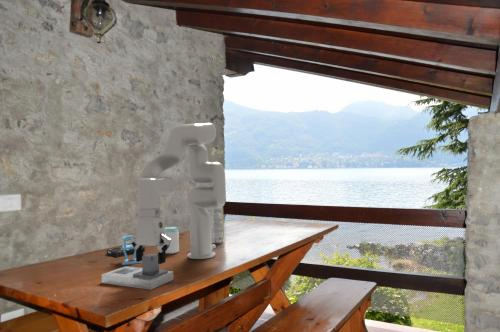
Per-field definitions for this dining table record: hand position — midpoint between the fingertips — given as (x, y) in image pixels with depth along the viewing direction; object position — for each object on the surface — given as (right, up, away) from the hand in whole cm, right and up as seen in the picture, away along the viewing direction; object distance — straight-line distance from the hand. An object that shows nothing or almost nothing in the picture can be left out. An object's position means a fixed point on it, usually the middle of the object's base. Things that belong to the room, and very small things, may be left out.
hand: (150, 262), depth 135 cm
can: (-3, -8, +49) cm, 49 cm away
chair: (-17, -8, +32) cm, 37 cm away
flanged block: (0, -7, 0) cm, 7 cm away
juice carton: (+16, -8, +72) cm, 74 cm away
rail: (-5, -8, +2) cm, 9 cm away
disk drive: (-25, -9, +51) cm, 58 cm away
